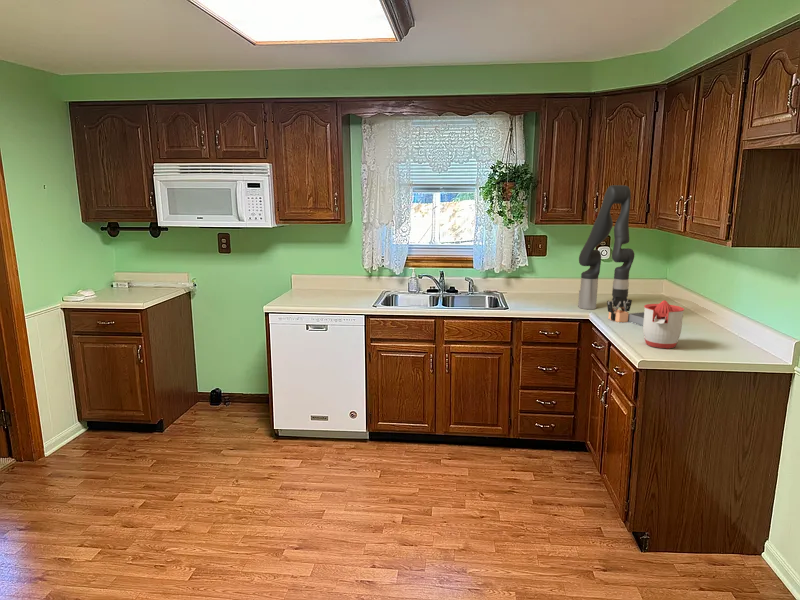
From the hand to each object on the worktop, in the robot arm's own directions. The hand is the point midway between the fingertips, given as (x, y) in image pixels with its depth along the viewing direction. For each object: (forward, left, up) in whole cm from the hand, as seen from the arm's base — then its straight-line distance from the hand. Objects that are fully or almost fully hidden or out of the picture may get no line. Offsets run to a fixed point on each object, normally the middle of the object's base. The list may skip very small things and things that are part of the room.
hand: (618, 319), depth 289 cm
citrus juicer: (+44, -15, -1) cm, 47 cm away
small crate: (0, 0, 0) cm, 0 cm away
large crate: (+8, +11, 0) cm, 14 cm away
